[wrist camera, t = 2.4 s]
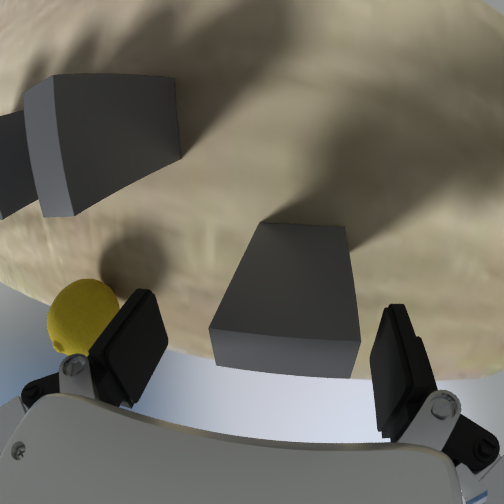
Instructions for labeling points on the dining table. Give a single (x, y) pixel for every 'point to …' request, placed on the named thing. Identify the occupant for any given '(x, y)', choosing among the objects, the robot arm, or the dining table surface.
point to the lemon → (80, 315)
